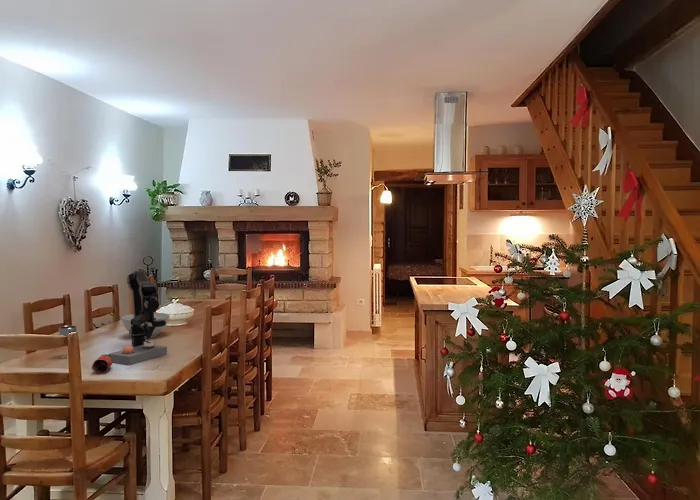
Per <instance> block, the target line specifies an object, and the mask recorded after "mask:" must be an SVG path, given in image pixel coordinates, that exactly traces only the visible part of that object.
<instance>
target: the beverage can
mask: <svg viewBox="0 0 700 500" xmlns="http://www.w3.org/2000/svg"><path fill="white" fill-rule="evenodd" d="M112 365H113V359H112V357H111V356H110V355H109V354H102V355H100V356H99V357H98V358H97V359H95V360H94V362H93V363H92V365H91V370H92V371H93V372H94V373H96V374H97V375H100V374H101V375H102V374H103V375H104V374H105V373H106V372H108V370H109V369H110V368H111V367H112ZM104 369H105V370H104ZM103 370H104V371H103ZM102 371H103V372H102ZM101 372H102V373H101Z"/></svg>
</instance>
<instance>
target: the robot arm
mask: <svg viewBox="0 0 700 500" xmlns="http://www.w3.org/2000/svg"><path fill="white" fill-rule="evenodd" d="M126 283H127V285H128V286H127V287H128V288H129V291H131V294H132V295H131V297H132V298H131V299H132V309H133V314H134V318H133V319H131V327H130V330H129V331H128V337H129V338H131V346H133V347H137V346H140V345H144V341H146V340H150V339H151V338H150V337H151V335H152V333H153V331H154V329H155V327H161V326H165V325H166V321H165V320H160V319H159V320H156V318H154V313H157V311H158V309H159V308H160V302H159V301H158V299H156V298H158V297H159V292H158V288H157V286H156V285H155V283H153V282H152V281H149V279H148V277H147V276H146V275H145V271H144V270H135V271H133V272H132V273H130V274H128V276H127V277H126ZM166 326H167V325H166ZM166 326H165V327H166ZM145 336H146V338H145Z"/></svg>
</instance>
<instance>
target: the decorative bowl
mask: <svg viewBox="0 0 700 500" xmlns="http://www.w3.org/2000/svg"><path fill="white" fill-rule="evenodd" d="M170 316H171V315H170V314H168V313H165V312H154V318H156V320H159V319H160V320H165V321H166V325H165V326H161V327H155V329H154V331H153V333H152V335H151V337H150V339H151V338H152V339H153V338H156V337H157V336H158V334H159V333H161V332H162V331H163V330H164V329H165V328H166V326H167V324H168V323H169V320H170ZM133 318H134V313H133V314H126V315H123V316H122V317H121V322H122V324H123V327H124V328H125V329H126V331H127V332H129V330H130V327H131V319H133ZM145 339H147V338H146V336H145Z"/></svg>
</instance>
